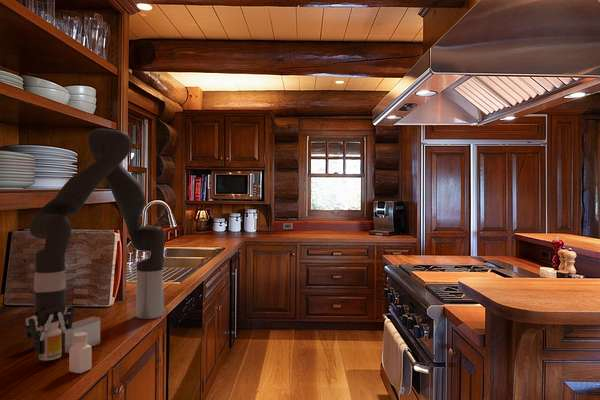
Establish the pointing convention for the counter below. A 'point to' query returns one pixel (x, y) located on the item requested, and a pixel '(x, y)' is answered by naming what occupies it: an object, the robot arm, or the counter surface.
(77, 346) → the pepper shaker
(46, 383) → the counter surface
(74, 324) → the housing
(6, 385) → the counter surface
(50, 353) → the supplement bottle
